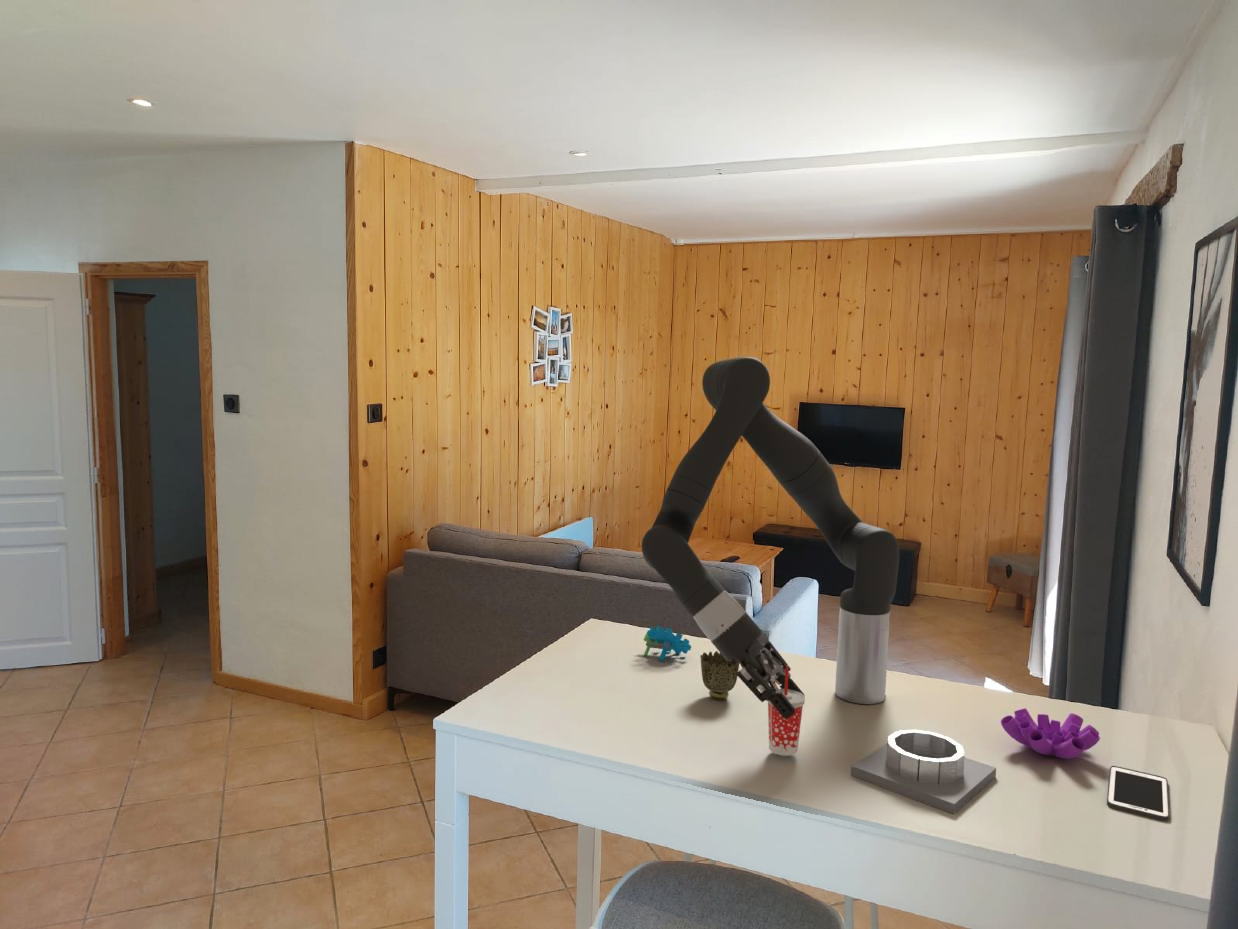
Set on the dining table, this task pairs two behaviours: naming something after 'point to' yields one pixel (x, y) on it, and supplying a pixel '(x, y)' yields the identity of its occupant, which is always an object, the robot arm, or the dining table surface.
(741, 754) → the dining table surface
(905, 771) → the collar
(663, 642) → the blue toy figure
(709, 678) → the cup
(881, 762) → the flange board
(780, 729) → the beverage cup
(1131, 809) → the cell phone
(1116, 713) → the dining table surface
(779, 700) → the robot arm
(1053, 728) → the purple tube coral
